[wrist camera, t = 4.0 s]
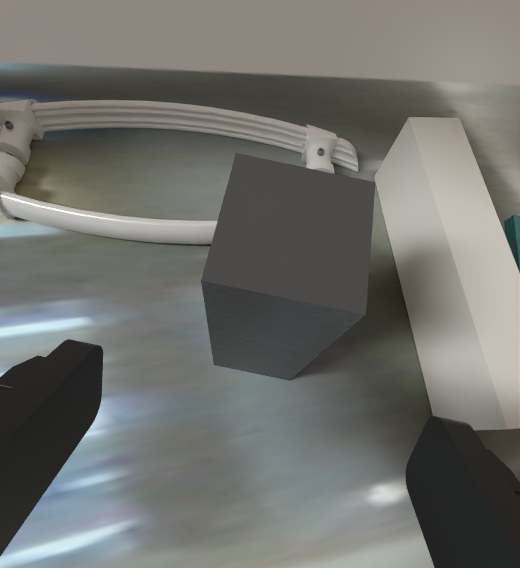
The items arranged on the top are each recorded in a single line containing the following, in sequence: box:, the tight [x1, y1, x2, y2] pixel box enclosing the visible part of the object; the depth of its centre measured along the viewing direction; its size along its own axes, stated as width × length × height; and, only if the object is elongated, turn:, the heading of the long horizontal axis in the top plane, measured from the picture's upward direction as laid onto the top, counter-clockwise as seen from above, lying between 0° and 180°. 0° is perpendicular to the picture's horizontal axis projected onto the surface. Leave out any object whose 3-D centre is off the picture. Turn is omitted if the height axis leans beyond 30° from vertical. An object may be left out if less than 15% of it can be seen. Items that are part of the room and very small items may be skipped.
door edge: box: [374, 117, 520, 430], centre depth 19 cm, size 16×3×5 cm, turn 4°
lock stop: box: [201, 153, 375, 380], centre depth 14 cm, size 4×4×11 cm
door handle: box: [0, 99, 358, 244], centre depth 22 cm, size 3×10×25 cm
